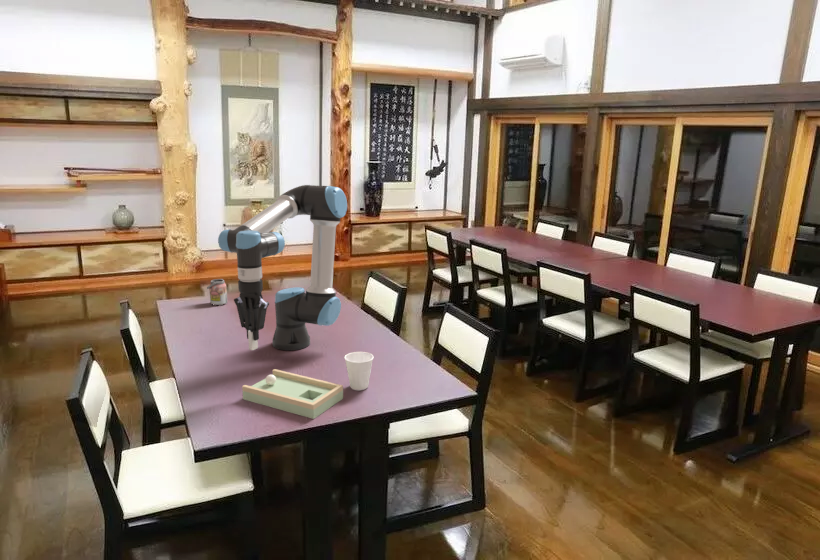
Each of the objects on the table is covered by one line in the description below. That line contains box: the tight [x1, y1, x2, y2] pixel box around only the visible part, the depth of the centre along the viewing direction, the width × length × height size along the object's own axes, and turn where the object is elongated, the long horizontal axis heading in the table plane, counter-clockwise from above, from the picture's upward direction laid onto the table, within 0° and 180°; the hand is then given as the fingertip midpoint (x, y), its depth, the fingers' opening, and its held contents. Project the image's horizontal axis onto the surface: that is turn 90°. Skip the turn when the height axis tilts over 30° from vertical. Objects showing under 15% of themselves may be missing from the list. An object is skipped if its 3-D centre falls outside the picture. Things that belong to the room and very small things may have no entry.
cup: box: [343, 351, 375, 391], centre depth 196 cm, size 10×10×11 cm
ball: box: [264, 373, 276, 385], centre depth 191 cm, size 4×4×4 cm
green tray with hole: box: [242, 368, 344, 419], centre depth 188 cm, size 28×16×5 cm, turn 63°
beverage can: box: [206, 278, 228, 306], centre depth 289 cm, size 9×8×12 cm
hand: (253, 348), depth 191 cm, fingers closed
